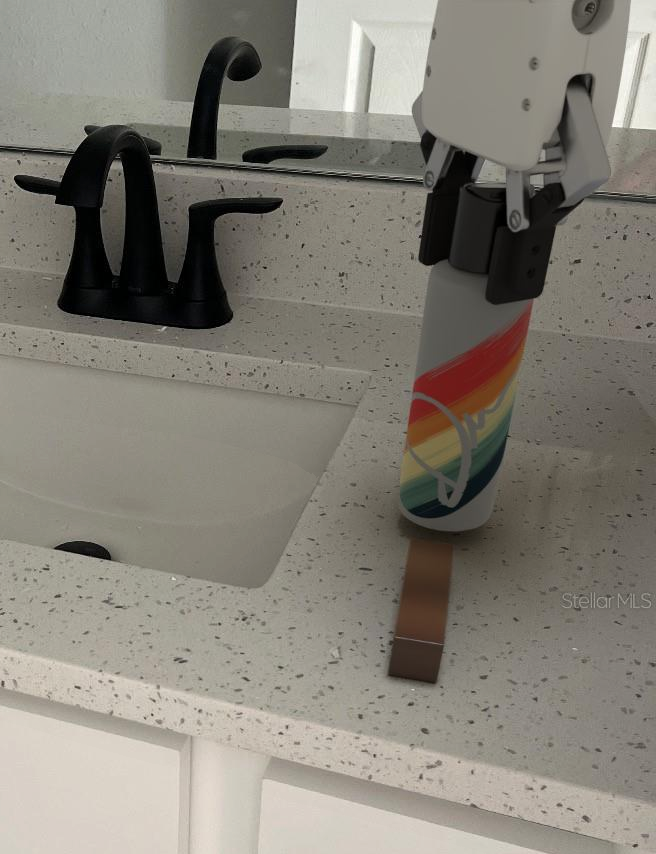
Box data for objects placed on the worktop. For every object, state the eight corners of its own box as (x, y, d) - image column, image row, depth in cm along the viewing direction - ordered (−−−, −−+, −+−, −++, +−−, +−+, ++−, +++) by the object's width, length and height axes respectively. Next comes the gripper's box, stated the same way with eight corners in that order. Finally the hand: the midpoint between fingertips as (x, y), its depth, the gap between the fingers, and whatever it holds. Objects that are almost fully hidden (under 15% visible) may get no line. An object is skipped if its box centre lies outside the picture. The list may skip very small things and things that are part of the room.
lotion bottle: (402, 532, 72) (450, 196, 61) (391, 486, 77) (435, 166, 65) (500, 535, 71) (567, 195, 60) (483, 488, 76) (543, 165, 65)
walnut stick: (404, 573, 71) (410, 537, 69) (448, 579, 70) (455, 543, 68) (387, 675, 63) (393, 637, 61) (436, 683, 62) (443, 645, 61)
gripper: (751, -89, 50) (642, 325, 60) (501, -117, 63) (447, 225, 73) (598, -76, 48) (514, 348, 58) (375, -108, 61) (338, 242, 72)
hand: (477, 276), depth 66 cm, fingers closed on lotion bottle, 5 cm apart
